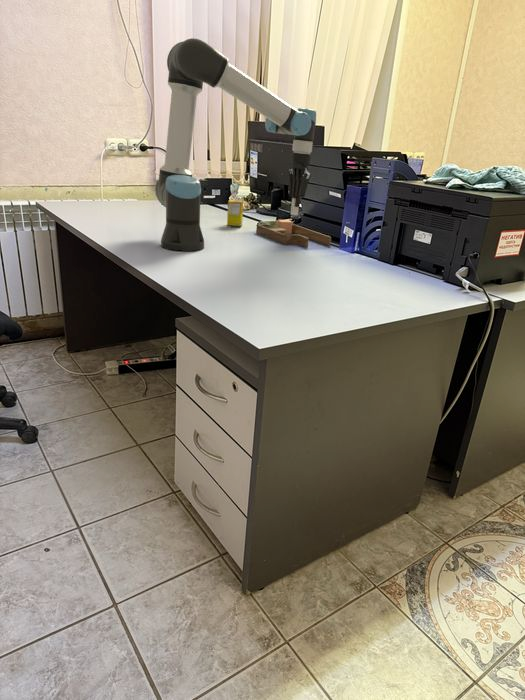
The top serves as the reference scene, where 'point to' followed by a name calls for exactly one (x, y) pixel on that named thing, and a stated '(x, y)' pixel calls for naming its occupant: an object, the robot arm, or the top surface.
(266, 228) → the trap lane
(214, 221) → the top surface
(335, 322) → the top surface
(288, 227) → the terracotta block
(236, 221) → the supplement box
